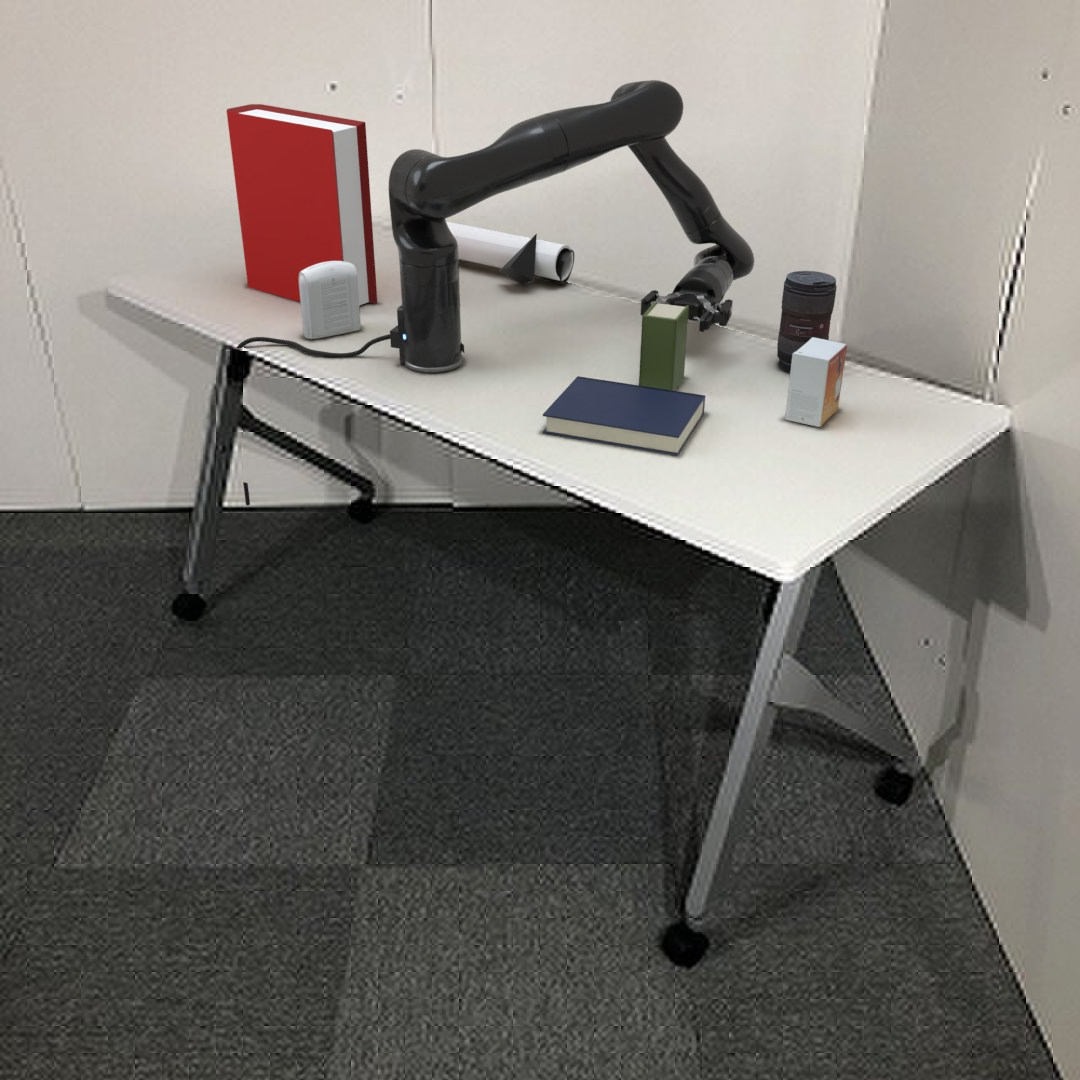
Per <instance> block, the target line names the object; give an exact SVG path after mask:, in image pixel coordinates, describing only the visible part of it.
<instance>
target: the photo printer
mask: <svg viewBox="0 0 1080 1080" xmlns="http://www.w3.org/2000/svg"><path fill="white" fill-rule="evenodd" d="M299 290H300V302H299V303H300V312H301V313H300V314H301V322H302V323H301V324H302V332H303V337H304V338H305V339H307V340H316V339H322V338H326V337H327V338H328V337H331V336H332V337H333V336H336V335H343V334H347V333H353V332H357V331H360V330H361V326H362V325H361V313H360V312H361V311H360V305H359V294H358V277H357V271H356V268H355V266H354V265H353V264H351V263H349V262H344V261H328V262H322V263H318V264H315V265H312V266H310V267H308V268H306V269H304V270H302V271H301V272H300V273H299Z"/></svg>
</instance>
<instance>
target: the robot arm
mask: <svg viewBox="0 0 1080 1080" xmlns="http://www.w3.org/2000/svg"><path fill="white" fill-rule="evenodd" d="M683 114H684V101H683V98H682V96H681V94H680V92H679V91H678V89H676V87H674V86H673V85H672V84H670V83H668V82H666V81H662V80H656V79H650V80H639V81H632V82H627V83H625V84H621V85H620V86H619V87H617V89H615V91H614V92H613V94H612V95H611V97H610V100H608V101H606V102H602V103H597V104H589V105H582V106H575V107H568V108H563V109H558V110H554V111H550V112H546V113H543V114H540V115H537V116H533V117H530V118H528V119H525V120H522V121H519V122H518V123H516V124H514V125H512V126H511V127H509V128H508V129H507V130H505V132H503V133H502V134H501V135H500V136H498V138H497V139H495V141H494V142H492V143H491V144H490V145H488V146H486V147H484V148H482V149H479V150H476V151H475V150H474V151H471V152H467V153H465V154H460V155H454V156H448V157H447V156H441V155H439V154H435V153H434V152H433V153H432V152H430V151H427V150H425V149H419V148H413V149H409V150H405V151H404V152H403V153H401V154H399V155H398V156H397V158H396V159H395V160H394V162H393V164H392V166H391V169H390V170H389V171H390V172H389V176H388V200H389V202H388V203H389V211H390V221H391V230H392V237H393V240H394V243H395V245H396V248H397V250H398V260H399V261H398V262H399V278H400V295H401V296H400V297H401V305H399V306H398V308H397V309H396V317H397V320H396V321H397V325H396V326H395V327H393V328H391V329H390V330H389V334H384V335H381V336H377V337H374V338H373V339H371V340H369V341H368V342H366V343H365V344H364V345H363V346H362V347H361V348H359V349H357V350H354V351H350V352H330V351H329V352H328V351H324V350H323V351H321V350H317V349H312V348H307V347H306V346H304V345H303V344H302V345H301V344H300V343H298V342H296V341H293V340H287V339H280V338H274V337H268V336H267V337H266V336H254V337H253V336H252V337H249V338H245V340H243V341H241V342H240V343H239V344H238V345H237V346H236V347H235V348H236V349H242V348H244V347H245V346H247V345H249V344H252V343H256V342H264V343H265V342H266V343H272V344H277V345H287V346H291V347H293V348H296V349H298V350H300V351H302V352H304V353H306V354H309V355H312V356H320V357H325V358H326V357H327V358H336V359H340V358H343V359H344V358H353V357H356V356H359V355H362V354H363V353H365V352H366V351H367V350H368V349H369V348H370V347H371V346H373V345H376V344H377V343H380V342H383V341H388V340H390V348H393V349H398V351H399V352H398V353H399V365H401V366H405V367H407V368H408V369H410V370H412V371H415V372H420V373H428V374H429V373H430V374H431V373H433V374H434V373H435V374H436V373H444V372H449V371H452V370H455V369H457V368H458V367H460V366H461V365H462V364H463V354H465V344H464V343H462V323H461V319H462V318H461V291H460V290H461V288H460V263H459V261H460V260H459V255H458V243H457V240H456V238H455V237H454V236H453V234H452V233H451V231H450V230H449V228H448V225H447V223H446V220H447V219H449V218H451V217H454V216H455V215H457V214H459V213H461V212H464V211H466V210H467V209H469V208H471V207H473V206H475V205H478V204H479V203H481V202H483V201H485V200H488V199H490V198H492V197H494V196H497V195H499V194H502V193H505V192H508V191H512V190H514V189H518V188H520V187H523V186H525V185H529V184H532V183H535V182H538V181H541V180H545V179H548V178H550V177H553V176H556V175H558V174H561V173H564V172H566V171H568V170H571V169H574V168H576V167H579V166H581V165H583V164H586V163H588V162H591V161H593V160H595V159H597V158H599V157H601V156H604V155H605V154H608V153H611V152H613V151H616V150H618V149H620V148H625V147H627V148H628V149H629V150H630V151H631V152H632V153H633V155H634V156H635V158H636V159H637V160H638V162H639V163H640V164H641V165H642V167H643V168H644V170H645V172H647V174H648V175H649V176H650V177H651V179H652V181H653V182H654V183H655V185H656V186H657V187H658V189H659V190H660V192H661V193H662V195H663V197H664V199H665V200H666V201H667V203H668V205H669V207H670V208H671V210H672V213H673V214H674V216H675V217H676V220H677V221H678V223H679V225H680V227H681V229H682V230H683V233H684V234H685V236H686V238H687V239H688V241H689V242H690V243H692V244H694V245H705V244H713V245H712V246H709V247H707V248H703V249H702V250H700V251H699V252H697V253H696V254H695V255H694V259H693V267H692V268H691V269H690V270H688V271H687V273H686V274H684V276H683V277H682V278H681V279H680V281H679V282H678V283H677V284H676V285H675V287H674V289H673V291H672V292H671V293H668V294H666V295H660V294H659V290H656V289H653V290H651V291H650V292H649V293H647V294H646V295H645V296H644V297H643V298H642V299H641V300H640V316H643V315H644V313H645V312H646V311H647V310H648V309H649V308H650V307H651V306H652V304H653V303H654V302H655V301H656V302H657V303H659V304H667V305H675V306H683V307H686V306H689V313H688V321H692V322H698V323H699V324H698V332H699V333H705V331H709V330H710V329H711V327H714V326H715V324H718V326H720V327H726V326H727V325H728V323H729V322H730V319H731V317H732V314H733V303H734V302H733V301H734V300H732V299H730V298H729V299H725V300H724V301H723V299H724V298H725V295H726V293H727V292H728V291H729V290H730V287H731V286H732V284H733V282H734V281H736V280H739V279H741V278H744V277H747V276H748V275H749V274H751V273H752V271H753V270H754V267H755V256H754V255H755V254H754V252H753V250H752V247H751V246H750V245H749V242H747V241H746V239H745V238H744V237H743V236H742V235H740V234H739V233H738V231H736V230H735V229H734V228H733V227H732V225H731V224H730V223H729V222H728V221H727V220H726V218H724V216H723V215H722V213H721V211H720V209H719V207H718V204H717V203H716V201H715V199H714V197H713V195H712V194H711V192H710V190H709V188H708V187H707V186H706V184H705V183H704V182H703V180H702V179H701V178H700V176H698V174H697V173H696V172H695V171H694V170H692V169H691V167H690V166H689V165H688V164H687V163H686V162H684V161H683V160H682V159H681V157H680V156H679V155H678V154H677V153H676V151H675V150H674V149H673V148H672V146H671V145H670V144H669V142H668V141H667V138H666V137H667V136H669V135H670V134H671V133H673V132H674V131H675V130H676V128H677V127H678V126H679V124H680V123H681V120H682V117H683ZM462 353H463V354H462ZM242 484H243V492H244V500H245V506H250V505H251V501H250V491H249V484H248V482H244V481H243V482H242Z"/></svg>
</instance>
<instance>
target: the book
mask: <svg viewBox="0 0 1080 1080" xmlns="http://www.w3.org/2000/svg"><path fill="white" fill-rule="evenodd" d="M226 118H227V127H228V136H229V143H230V150H231V158H232V167H233V175H234V184H235V192H236V199H237V207H238V217H239V224H240V225H239V226H240V233H241V241H242V248H243V257H244V265H245V272H246V281H247V288H249V289H253V290H256V291H260V292H262V293H263V292H264V293H267V294H271V295H274V296H277V297H281V298H285V299H287V300H291V301H294V302H298V303H301V302H300V290H299V273H300V272H301V271H302V270H304V269H306V268H308V267H310V266H312V265H315V264H318V263H322V262H328V261H344V262H349V263H351V264H353V265H354V266H355V268H356V271H357V277H358V294H359V306H363V305H364V304H367V303H372V304H378V291H377V290H378V289H377V276H376V261H375V246H374V232H373V216H372V214H373V213H372V203H371V202H372V200H371V184H370V172H369V171H370V170H369V156H368V155H369V154H368V142H367V126H366V121H362V120H357V119H349V118H344V117H339V116H333V115H327V114H322V113H321V114H320V113H316V112H315V113H314V112H308V111H303V110H298V109H291V108H285V107H279V106H274V105H268V104H263V103H262V104H261V103H259V104H258V103H251V104H246V105H240V106H235V107H230V108H227V109H226Z"/></svg>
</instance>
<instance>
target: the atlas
mask: <svg viewBox="0 0 1080 1080" xmlns="http://www.w3.org/2000/svg"><path fill="white" fill-rule="evenodd" d="M705 405H706V395H704V394H698V393H692V392H686V391H685V392H684V391H680V390H679V391H678V390H675V391H672V390H666V389H659V388H653V387H646V386H639V384H633V383H632V384H631V383H626V382H625V383H624V382H619V381H613V380H605V379H598V378H593V377H592V378H591V377H586V376H579V375H578V376H576V377H575V378H574V380H572V381H571V383H570V384H569V385H568V386H567V387H566V388H565V389H564V390H563V391H562V393H560V394H559V396H558V397H557V398H556V399H555V400H554V401H553V402H552V403H551V404H550V406H548V408H547V409H546V410H545V411H544V412H543V413H542V417H546V426H545V428H544V430H542V434H545V435H551V436H557V437H563V438H569V439H574V440H575V439H576V440H580V441H587V442H593V443H599V444H605V445H610V446H616V447H622V448H629V449H635V450H640V451H641V450H642V451H646V452H652V453H658V454H663V455H671V456H676V457H677V456H679V454H680V453H681V451H682V450H683V448H684V446H686V443H687V441H688V440H689V438H690V437H691V436H692V434H693V432H694V431H695V429H696V427H697V426H698V424H699V422H700V421H701V420H702V418H703V416H704V415H705V408H706V407H705Z"/></svg>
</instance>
